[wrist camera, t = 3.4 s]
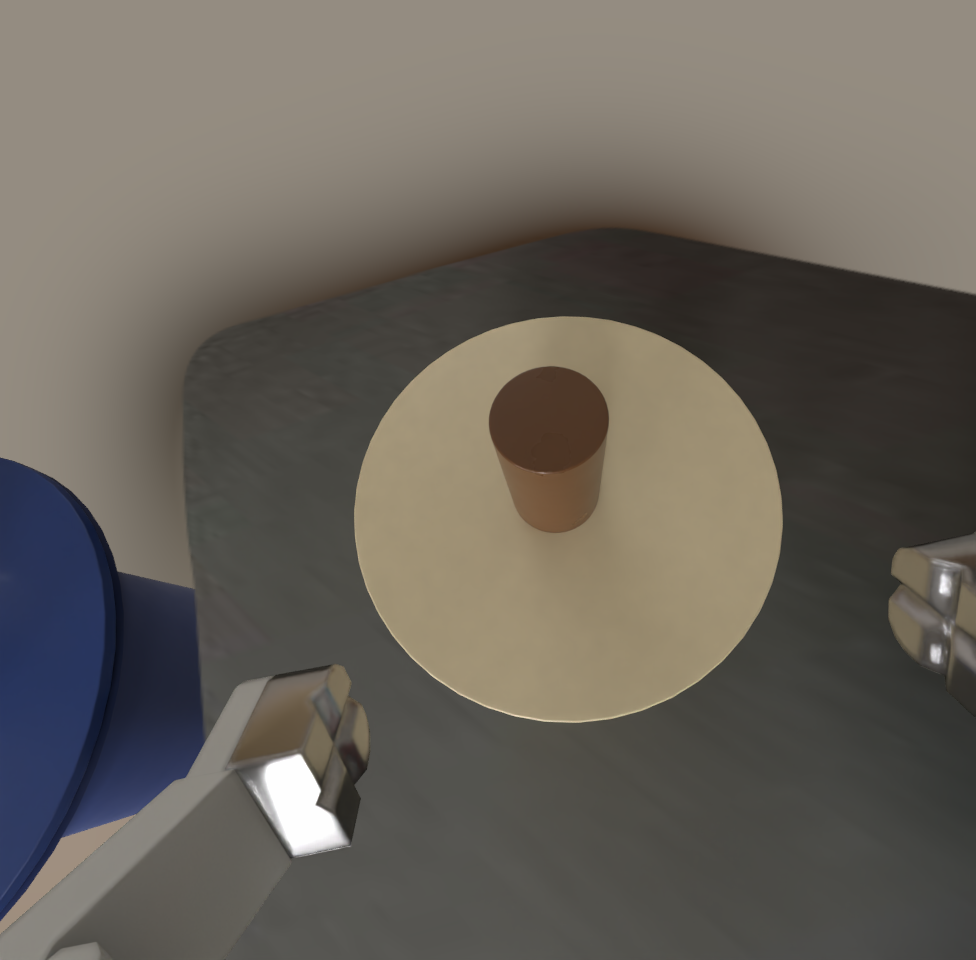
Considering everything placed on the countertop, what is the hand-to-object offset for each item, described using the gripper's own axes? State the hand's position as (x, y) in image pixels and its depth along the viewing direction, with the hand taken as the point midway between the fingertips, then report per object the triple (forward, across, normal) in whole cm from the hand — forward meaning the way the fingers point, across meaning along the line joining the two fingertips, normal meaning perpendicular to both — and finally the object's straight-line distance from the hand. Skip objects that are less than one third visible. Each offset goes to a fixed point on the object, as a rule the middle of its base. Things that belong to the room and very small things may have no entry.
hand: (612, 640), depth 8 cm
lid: (+9, 0, +2) cm, 9 cm away
